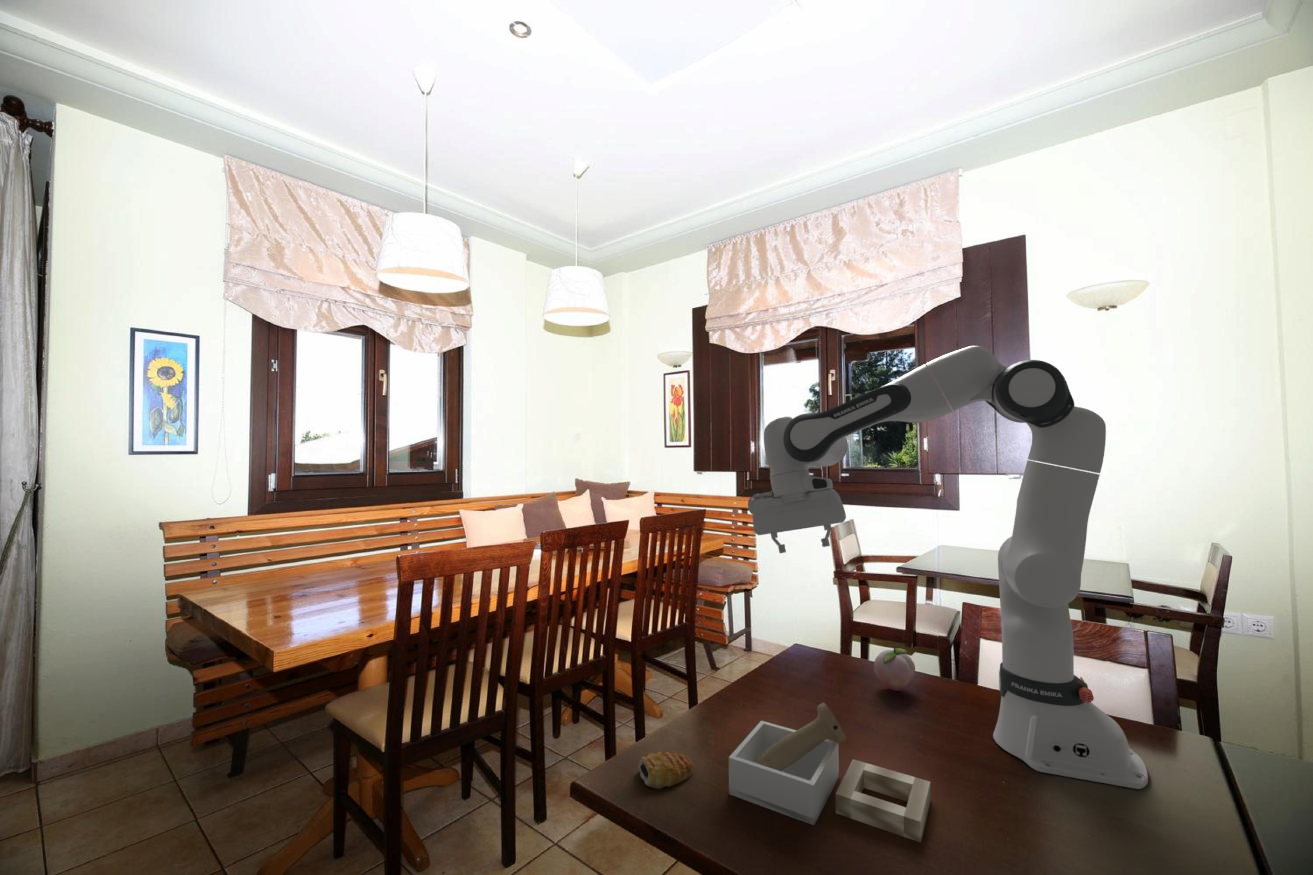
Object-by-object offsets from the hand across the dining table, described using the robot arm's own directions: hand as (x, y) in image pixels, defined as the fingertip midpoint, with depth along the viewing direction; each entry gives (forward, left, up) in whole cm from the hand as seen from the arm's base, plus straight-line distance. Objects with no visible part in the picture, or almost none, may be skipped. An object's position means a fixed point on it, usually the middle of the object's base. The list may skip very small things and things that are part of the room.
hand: (804, 549), depth 123 cm
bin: (-6, +31, -34) cm, 46 cm away
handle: (-2, +32, -31) cm, 45 cm away
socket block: (-21, +28, -34) cm, 48 cm away
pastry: (+13, +39, -34) cm, 53 cm away
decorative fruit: (-15, -16, -34) cm, 40 cm away
